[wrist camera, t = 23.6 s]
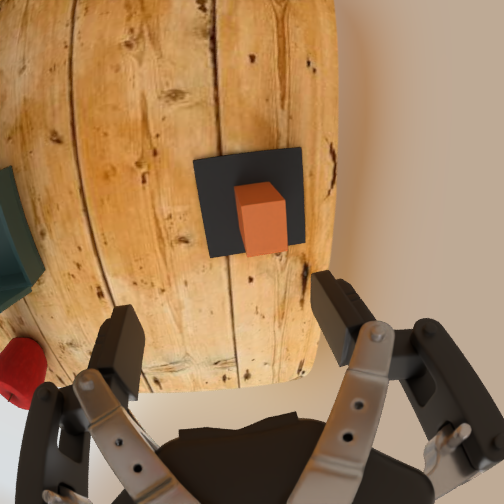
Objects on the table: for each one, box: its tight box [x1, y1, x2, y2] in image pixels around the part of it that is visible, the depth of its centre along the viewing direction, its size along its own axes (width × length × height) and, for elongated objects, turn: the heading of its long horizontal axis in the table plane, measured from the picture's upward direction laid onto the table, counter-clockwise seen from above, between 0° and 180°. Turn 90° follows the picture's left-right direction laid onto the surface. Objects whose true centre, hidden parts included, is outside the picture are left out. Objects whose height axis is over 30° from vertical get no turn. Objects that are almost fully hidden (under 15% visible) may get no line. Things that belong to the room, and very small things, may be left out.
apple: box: [0, 337, 47, 410], centre depth 32 cm, size 10×10×14 cm
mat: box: [193, 147, 305, 258], centre depth 32 cm, size 12×12×1 cm
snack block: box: [234, 182, 288, 257], centre depth 29 cm, size 5×4×7 cm
